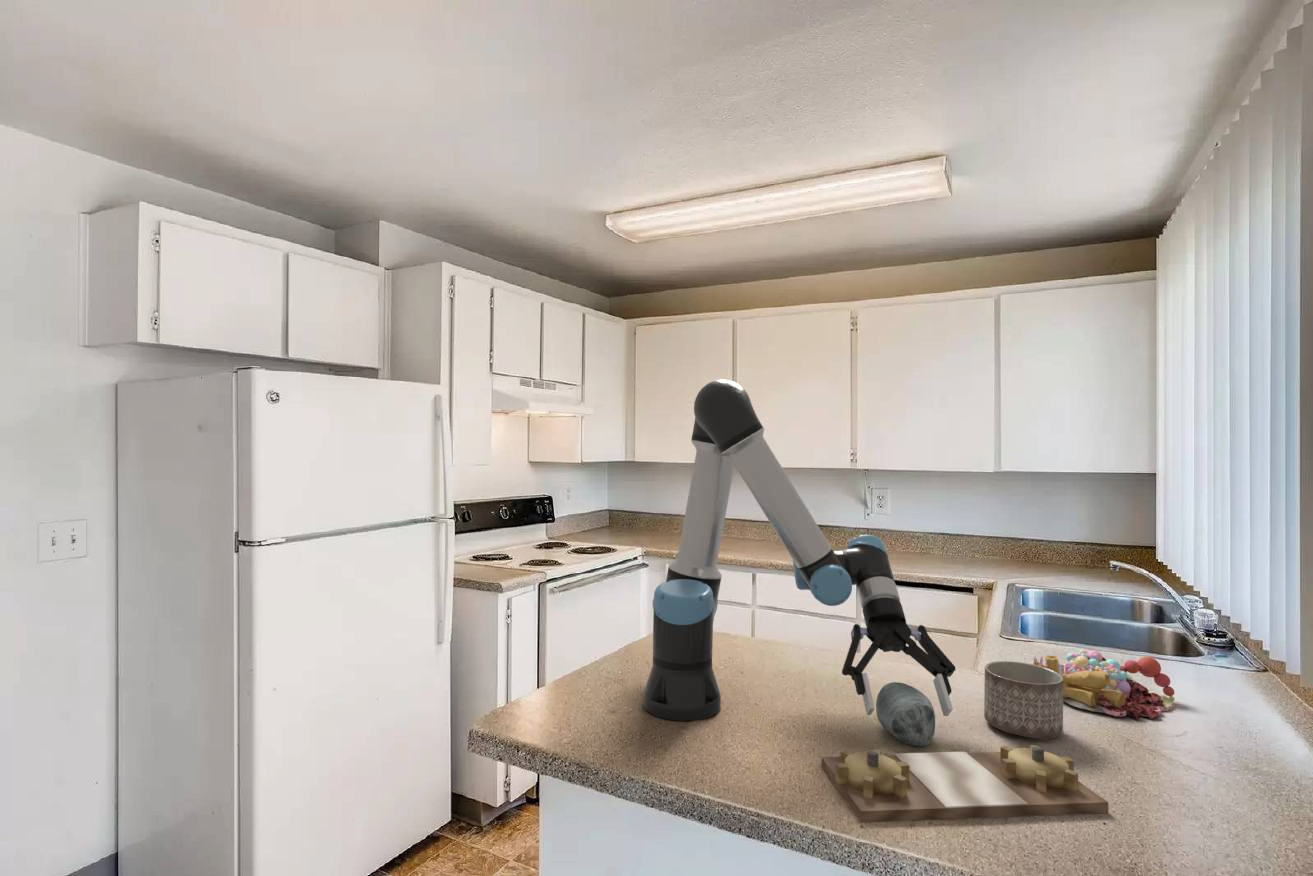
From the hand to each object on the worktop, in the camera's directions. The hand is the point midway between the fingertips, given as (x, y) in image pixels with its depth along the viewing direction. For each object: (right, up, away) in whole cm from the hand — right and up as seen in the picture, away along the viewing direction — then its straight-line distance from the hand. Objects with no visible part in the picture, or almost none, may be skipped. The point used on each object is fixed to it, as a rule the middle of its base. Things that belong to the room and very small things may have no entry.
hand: (909, 712), depth 118 cm
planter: (+23, -5, +5) cm, 24 cm away
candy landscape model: (+48, -6, +23) cm, 53 cm away
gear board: (+1, -4, -17) cm, 17 cm away
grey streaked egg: (0, -5, +2) cm, 6 cm away
